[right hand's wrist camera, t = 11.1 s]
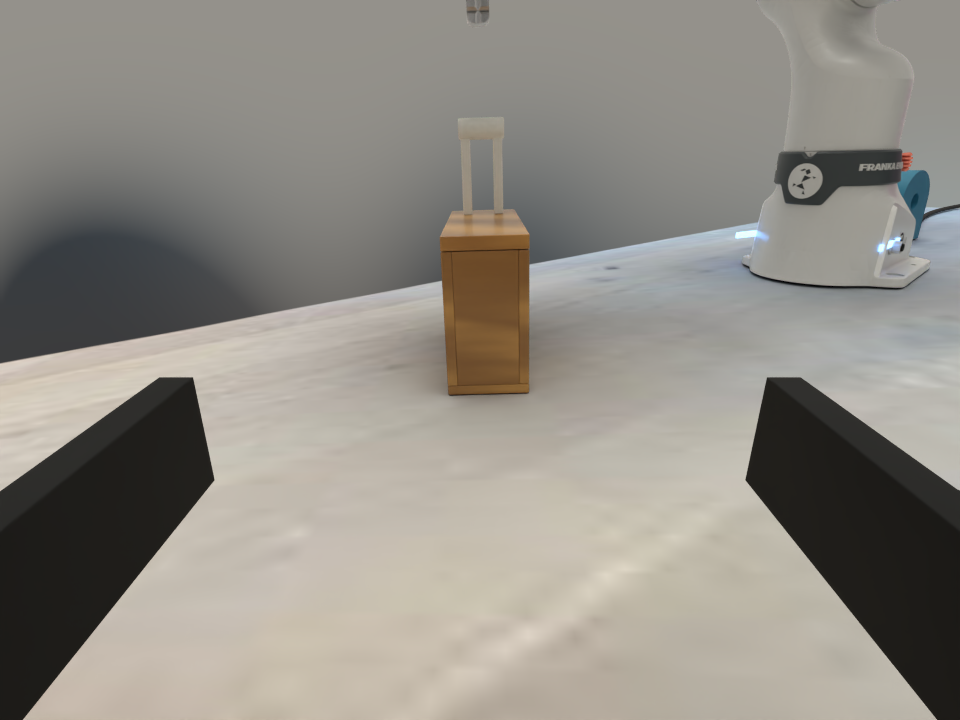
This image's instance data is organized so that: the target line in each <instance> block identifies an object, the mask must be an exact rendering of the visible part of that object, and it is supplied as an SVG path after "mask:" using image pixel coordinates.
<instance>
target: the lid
mask: <svg viewBox="0 0 960 720" xmlns="http://www.w3.org/2000/svg"><path fill="white" fill-rule="evenodd" d="M458 136H459V140H461V159H462V185H463V210H464V211H452V213H451V215H450V217H449V219H448V221H447V224H446V225H445V228H444V230H443V232H442V234H441V236H440V251H471V250H505V249H529V233H528V232H527V230H526V228H525V227H524V225H523V223H522V222H521V220H520V218H519V217H518V215H517V214H516V212H515V210H514V209H509V210H503V173H502V139H504V118H503V117H486V118H459V119H458ZM482 139H493V173H494V210H477V211H472V187H471V158H470V140H482Z"/></svg>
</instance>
